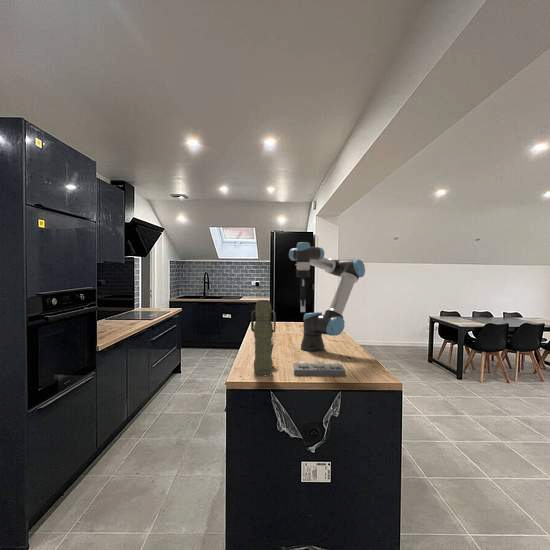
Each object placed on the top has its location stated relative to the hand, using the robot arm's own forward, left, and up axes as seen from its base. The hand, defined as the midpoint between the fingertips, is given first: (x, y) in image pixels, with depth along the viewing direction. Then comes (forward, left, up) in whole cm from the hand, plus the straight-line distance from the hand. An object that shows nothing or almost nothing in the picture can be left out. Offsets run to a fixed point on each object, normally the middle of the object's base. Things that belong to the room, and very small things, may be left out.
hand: (302, 311), depth 201 cm
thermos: (+36, +8, -27) cm, 46 cm away
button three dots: (+14, +24, -26) cm, 38 cm away
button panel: (+14, +24, -26) cm, 38 cm away
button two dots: (+19, +19, -26) cm, 37 cm away
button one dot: (+9, +29, -26) cm, 40 cm away
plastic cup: (+24, -5, -27) cm, 36 cm away
